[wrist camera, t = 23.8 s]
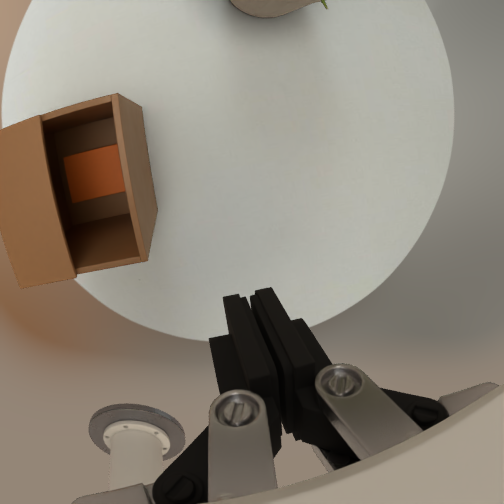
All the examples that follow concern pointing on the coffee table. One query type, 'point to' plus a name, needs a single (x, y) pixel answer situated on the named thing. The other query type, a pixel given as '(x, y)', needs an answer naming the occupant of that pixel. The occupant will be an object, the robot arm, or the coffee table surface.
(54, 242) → the carton flap
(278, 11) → the potted plant
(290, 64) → the coffee table surface
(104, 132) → the carton
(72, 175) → the block
